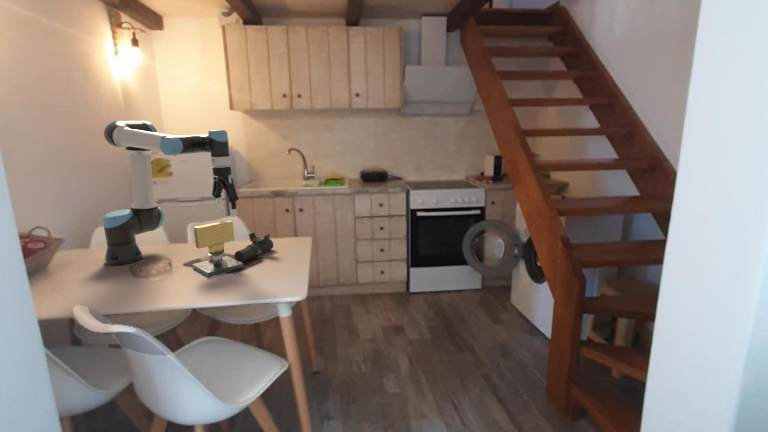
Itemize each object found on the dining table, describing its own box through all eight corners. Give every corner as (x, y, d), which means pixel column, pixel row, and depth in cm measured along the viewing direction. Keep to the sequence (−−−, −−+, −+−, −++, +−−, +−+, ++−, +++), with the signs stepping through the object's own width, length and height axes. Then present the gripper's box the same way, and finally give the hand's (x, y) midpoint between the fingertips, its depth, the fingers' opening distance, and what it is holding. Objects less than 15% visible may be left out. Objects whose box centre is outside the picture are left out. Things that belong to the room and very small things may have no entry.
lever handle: (195, 255, 181) (192, 226, 178) (230, 247, 192) (227, 219, 189) (201, 258, 177) (198, 228, 174) (237, 249, 188) (234, 221, 185)
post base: (193, 268, 186) (191, 253, 184) (227, 259, 197) (226, 245, 195) (208, 277, 175) (206, 261, 173) (243, 267, 186) (242, 252, 184)
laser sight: (231, 261, 195) (229, 241, 192) (262, 248, 215) (261, 229, 212) (248, 264, 191) (246, 243, 189) (278, 250, 211) (276, 231, 209)
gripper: (200, 165, 186) (206, 211, 191) (226, 169, 169) (231, 219, 173) (217, 163, 191) (222, 209, 196) (243, 167, 174) (248, 216, 179)
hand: (226, 214), depth 185 cm, fingers open, 13 cm apart
